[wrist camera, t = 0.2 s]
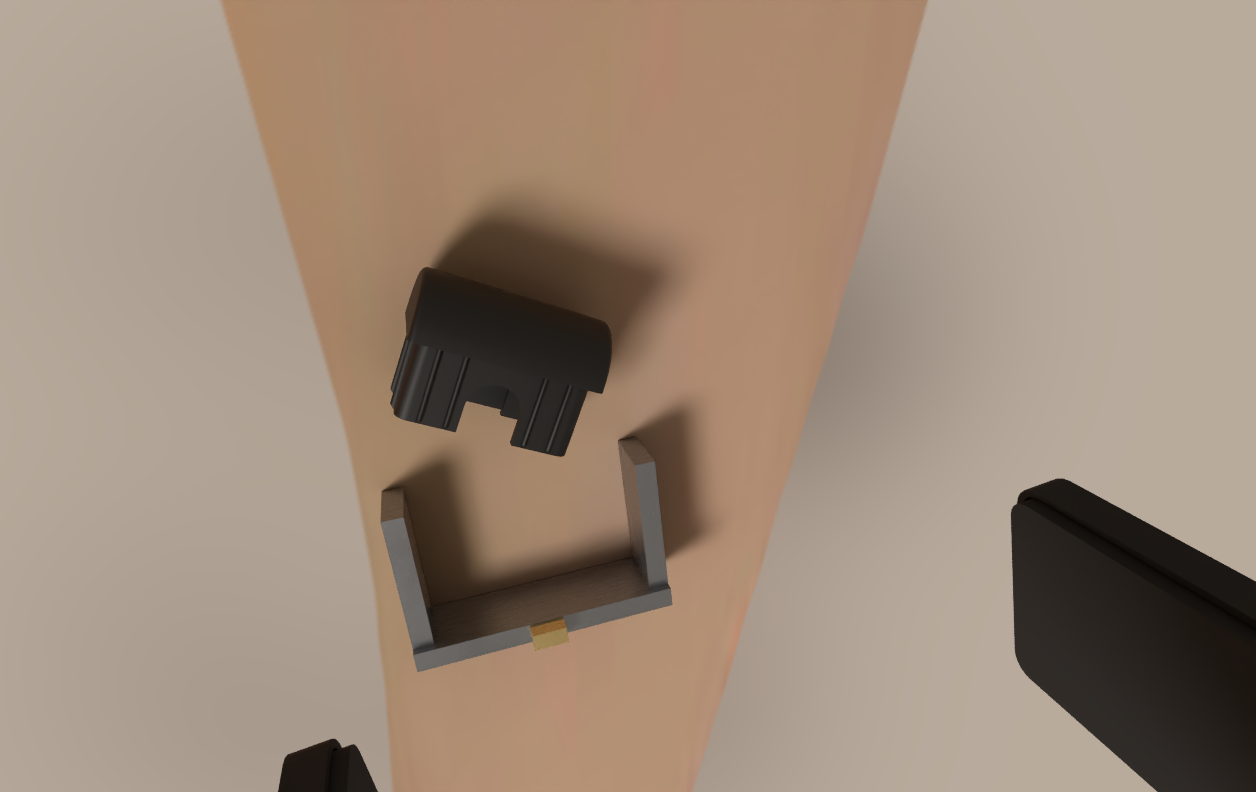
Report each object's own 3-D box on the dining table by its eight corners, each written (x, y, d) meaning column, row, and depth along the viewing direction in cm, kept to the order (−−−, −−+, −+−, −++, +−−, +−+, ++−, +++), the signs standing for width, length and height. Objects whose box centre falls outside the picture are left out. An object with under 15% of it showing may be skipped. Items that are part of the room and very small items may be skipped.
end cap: (593, 308, 46) (624, 338, 40) (554, 419, 48) (577, 465, 41) (421, 254, 42) (425, 278, 36) (385, 376, 44) (383, 419, 38)
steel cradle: (381, 491, 46) (380, 536, 41) (636, 436, 49) (662, 472, 44) (415, 627, 50) (418, 683, 45) (651, 568, 53) (677, 614, 48)
